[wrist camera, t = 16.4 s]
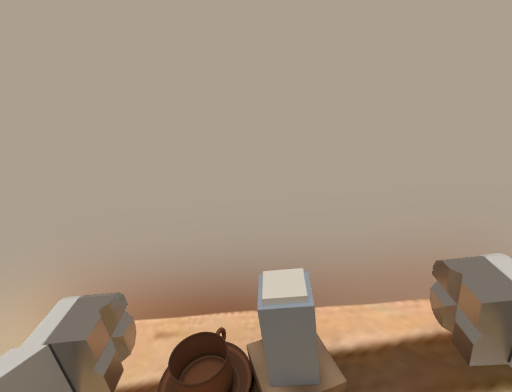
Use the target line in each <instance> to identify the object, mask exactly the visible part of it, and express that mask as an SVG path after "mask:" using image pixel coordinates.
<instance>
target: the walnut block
mask: <svg viewBox="0 0 512 392" xmlns="http://www.w3.org/2000/svg"><path fill="white" fill-rule="evenodd" d="M316 334H317V333H316ZM317 348H318V361H319V375H320V384H317V385H297V386H277V387H270V383H269V377H268V371H267V365H266V359H265V353H264V347H263V341H262V340H260V341H257V342H254V343H251V344H248V345H247V350H248V355H249V361H250V364H251V369H252V374H253V377H254V380H255V383H256V386H257V389H258V392H347V381H346V379H345V378H344V376H343V374H342V373H341V371H340V370H339V368H338V366H337V365H336V363H335V362H334V360H333V359H332V357H331V355H330V354H329V352H328V351H327V349H326V347H325V346H324V344H323V343H322V341H321V339H320V338H319V336H318V335H317Z"/></svg>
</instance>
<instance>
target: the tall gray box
mask: <svg viewBox="0 0 512 392" xmlns="http://www.w3.org/2000/svg"><path fill="white" fill-rule="evenodd" d="M257 311H258V317H259V323H260V329H261V335H262V341H263V347H264V353H265V359H266V365H267V371H268V377H269V383H270V387H277V386H297V385H317V384H320V375H319V361H318V348H317V334H316V321H315V308H314V301H313V296H312V290H311V285H310V279H309V274H308V271H303V268H299V269H287V270H276V271H263V274H262V275H259V289H258V309H257Z"/></svg>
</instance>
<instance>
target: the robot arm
mask: <svg viewBox="0 0 512 392" xmlns="http://www.w3.org/2000/svg"><path fill="white" fill-rule="evenodd" d="M432 274H433V276H434V277H435V278H436V279H437V282H436V283H435V284H434V285H433V286H432V287H431V288H430V302H431V307H432V311H433V313H434V315H435V317H436V319H437V320H438V322H439V323H440V325H441V326H442V327H444V328H445V329H447V330H449V331H450V332H452V333H453V337H452V342H453V344H454V345H455V346H456V348H457V349H458V351H459V352H460V354H461V355H462V356H463V358H464V359H465V361H466V362H467V363H468V365H469V366H479V365H497V364H510V365H509V366H510V367H512V259H511V258H509V257H508V256H507V255H504V254H501V253H494V254H486V255H478V256H476V257H465V258H457V259H447V260H437V261H436V262H435V263H434V265H433V271H432ZM127 305H128V303H127V301H126V299H125V297H124V295H123V294H121V293H107V294H94V295H84V296H72V297H65V298H63V299H61V300H59V302H58V303H57V304H56V305H55V306H54V308H53V309H52V310H51V311H50V312H49V314H48V315H47V316H46V317H45V318H44V319H43V321H42V322H41V323H40V324H39V325H38V327H37V328H36V329H35V330H34V331H33V332H32V334H31V335H30V336H29V337H28V338H27V339H26V341H25V342H24V343H23V344H22V346H21V347H18V348H13V349H11V350H10V351H8V352H7V353H5V354H3V355H2V356H0V392H114V391H115V388H116V386H117V384H118V382H119V379H120V377H121V375H122V373H123V370H124V369H123V366H122V363H121V362H122V361H123V360H125V359H126V358H127V357H128V356H129V355H130V354H131V352H132V349H133V347H134V345H135V338H136V327H135V322H134V319H133V317H132V316H131V315H129V314H128V313H127V312H125V309H126V307H127Z"/></svg>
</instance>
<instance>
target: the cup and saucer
mask: <svg viewBox="0 0 512 392" xmlns="http://www.w3.org/2000/svg"><path fill="white" fill-rule="evenodd" d="M220 333H222V337H221V336H220ZM225 339H226V331H225V329H224V328H223V327H221V328H219V329H218V330H217V332H216V333H212V332H200V333H196V334H193V335H191V336H189V337H187V338H185V339H184V340H183V341H181V342H180V343H179V344H178V345H177V346H176V347H175V349H174V350H173V352H172V353H171V356H170V358H169V363H168V367H167V369H166V370H165V372H164V374H163V376H162V378H161V380H160V383H159V387H158V392H249V391H250V387H251V382H252V369H251V364H250V361H249V359H248V357H247V356H246V354H245V353H244V352H243V351H242V350H241V349H240V348H239V347H237V346H236V345H234V344H232V343H229V342H226V341H225Z"/></svg>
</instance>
